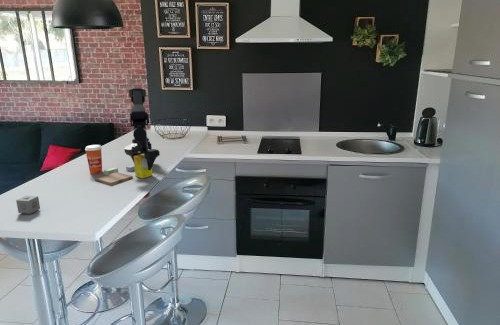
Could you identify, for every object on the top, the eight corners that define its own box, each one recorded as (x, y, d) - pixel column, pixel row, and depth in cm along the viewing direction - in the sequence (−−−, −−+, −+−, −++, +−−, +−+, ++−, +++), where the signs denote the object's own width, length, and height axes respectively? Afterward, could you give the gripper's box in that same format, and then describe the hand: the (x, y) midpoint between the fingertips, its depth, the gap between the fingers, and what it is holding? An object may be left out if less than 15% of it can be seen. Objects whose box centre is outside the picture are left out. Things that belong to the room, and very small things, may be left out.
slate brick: (135, 169, 189) (135, 164, 188) (139, 170, 187) (139, 164, 187) (126, 172, 184) (126, 166, 183) (130, 173, 182) (130, 167, 182)
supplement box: (145, 174, 179) (143, 153, 176) (152, 176, 176) (151, 155, 173) (135, 177, 175) (133, 155, 172) (142, 179, 171) (140, 157, 168)
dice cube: (18, 212, 134) (16, 200, 132) (28, 207, 139) (26, 195, 137) (30, 213, 133) (28, 200, 132) (40, 208, 138) (38, 196, 136)
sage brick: (114, 173, 183) (113, 167, 182) (118, 173, 182) (117, 168, 181) (104, 176, 178) (103, 170, 177) (108, 177, 177) (107, 171, 176)
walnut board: (117, 175, 179) (116, 172, 179) (132, 179, 172) (132, 176, 172) (95, 181, 169) (94, 178, 169) (111, 185, 163) (110, 182, 162)
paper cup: (86, 176, 177) (83, 148, 173) (89, 172, 184) (85, 145, 181) (104, 175, 179) (100, 147, 175) (105, 170, 186) (102, 144, 183)
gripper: (113, 137, 169) (116, 169, 173) (139, 142, 159) (142, 176, 163) (133, 133, 178) (135, 164, 182) (159, 137, 168) (161, 170, 172)
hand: (143, 168), depth 174 cm, fingers open, 9 cm apart
